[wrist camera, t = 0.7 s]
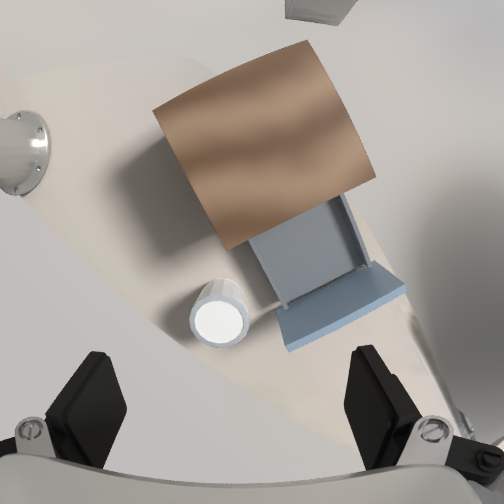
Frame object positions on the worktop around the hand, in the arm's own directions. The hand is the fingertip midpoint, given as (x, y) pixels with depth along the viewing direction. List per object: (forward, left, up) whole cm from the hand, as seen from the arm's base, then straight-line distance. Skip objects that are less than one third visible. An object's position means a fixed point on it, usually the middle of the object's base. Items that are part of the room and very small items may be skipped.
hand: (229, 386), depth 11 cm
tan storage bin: (+7, +8, -29) cm, 31 cm away
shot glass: (-6, -7, -29) cm, 30 cm away
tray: (+7, -6, -27) cm, 29 cm away
